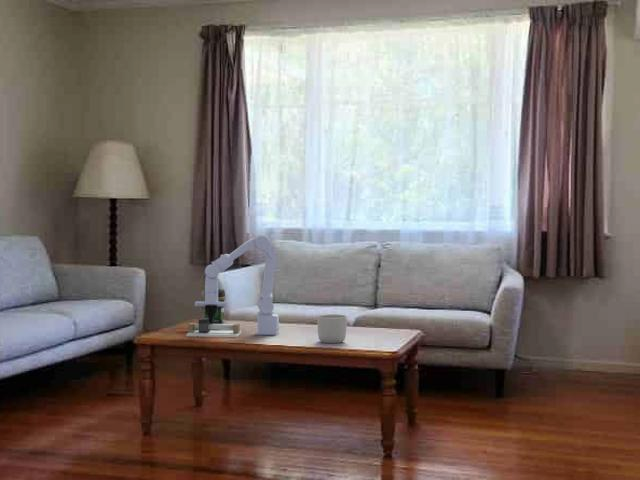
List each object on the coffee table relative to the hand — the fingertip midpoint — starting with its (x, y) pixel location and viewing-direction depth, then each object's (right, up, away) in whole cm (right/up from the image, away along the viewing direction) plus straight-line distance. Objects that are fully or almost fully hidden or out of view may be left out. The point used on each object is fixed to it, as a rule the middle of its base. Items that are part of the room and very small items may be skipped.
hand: (211, 322), depth 352 cm
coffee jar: (-1, -5, +19) cm, 20 cm away
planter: (+53, -7, -17) cm, 56 cm away
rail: (+1, -5, 0) cm, 5 cm away
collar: (-3, -4, 0) cm, 5 cm away
